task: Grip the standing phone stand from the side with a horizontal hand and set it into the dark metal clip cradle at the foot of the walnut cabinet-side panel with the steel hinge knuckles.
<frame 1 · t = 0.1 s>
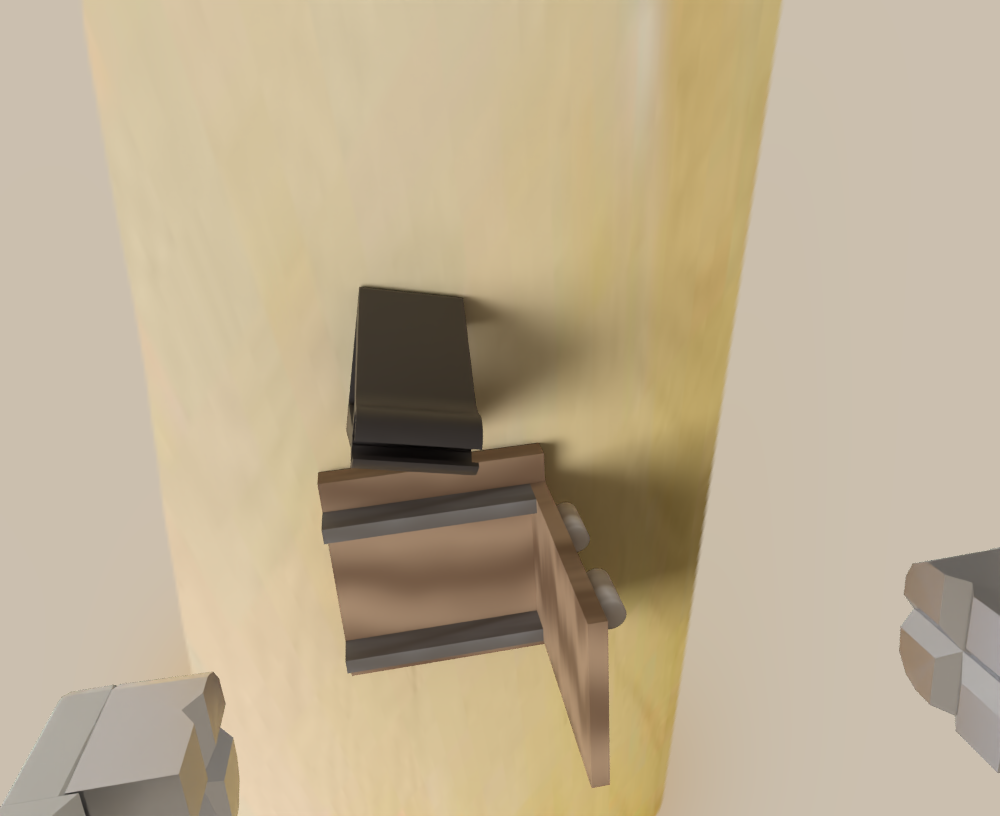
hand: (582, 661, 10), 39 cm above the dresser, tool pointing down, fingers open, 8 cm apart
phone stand: (402, 362, 49), on the dresser
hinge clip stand: (441, 556, 55), on the dresser
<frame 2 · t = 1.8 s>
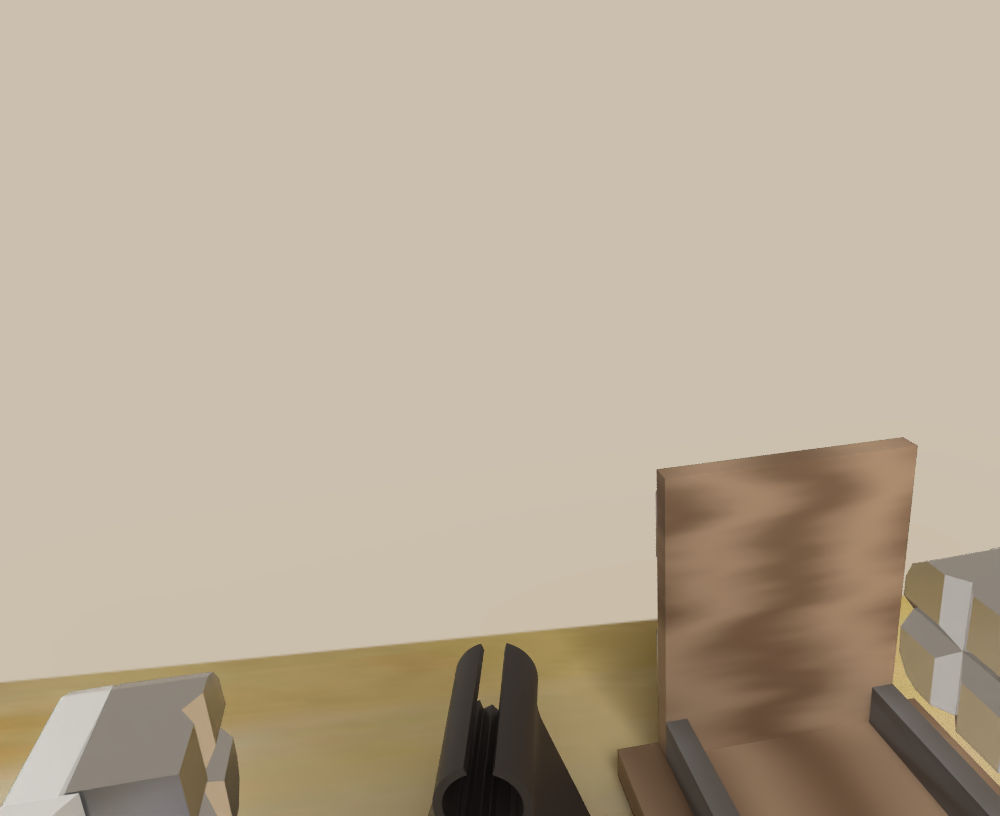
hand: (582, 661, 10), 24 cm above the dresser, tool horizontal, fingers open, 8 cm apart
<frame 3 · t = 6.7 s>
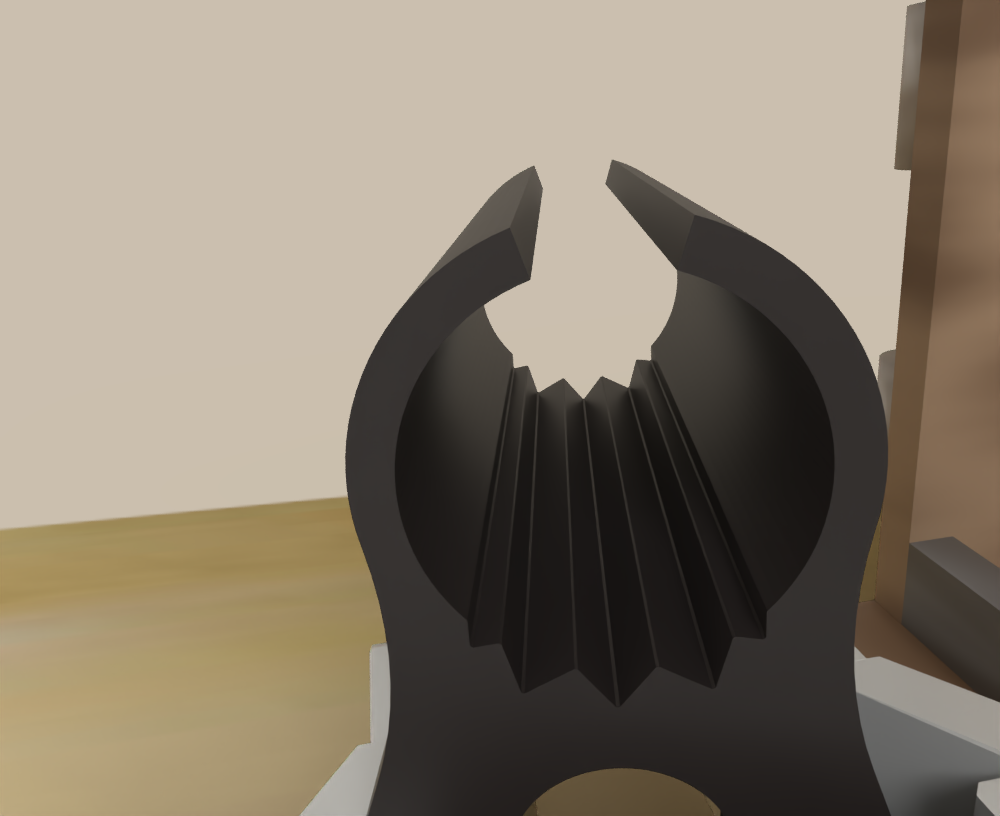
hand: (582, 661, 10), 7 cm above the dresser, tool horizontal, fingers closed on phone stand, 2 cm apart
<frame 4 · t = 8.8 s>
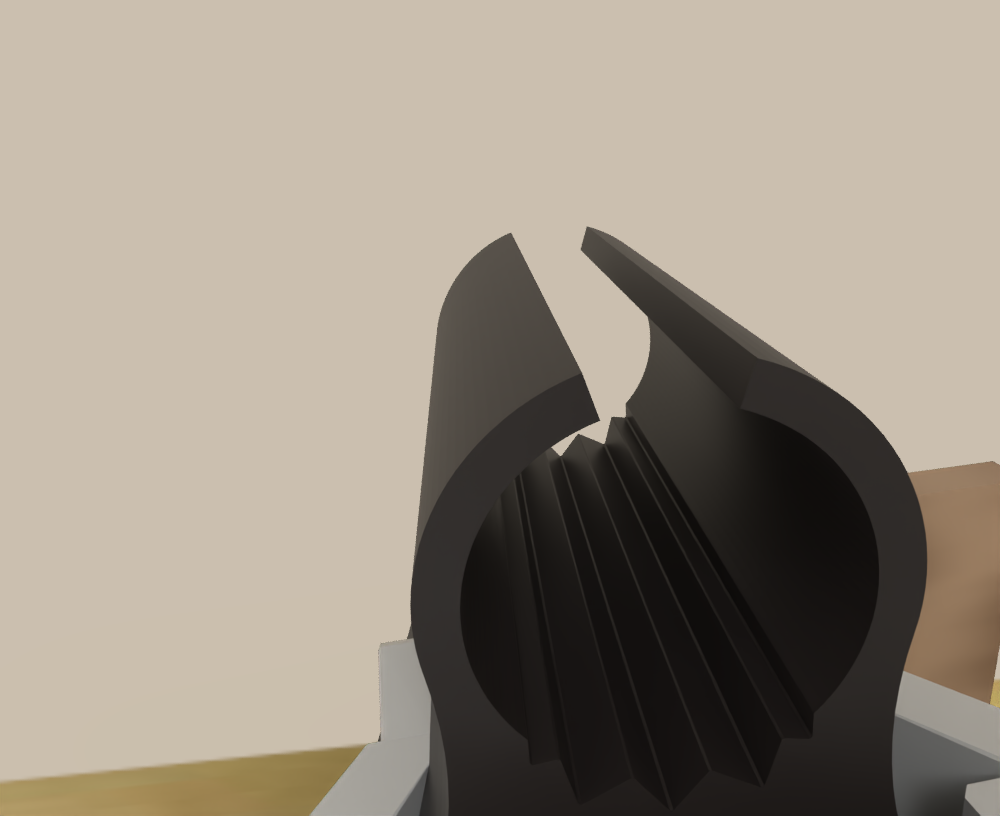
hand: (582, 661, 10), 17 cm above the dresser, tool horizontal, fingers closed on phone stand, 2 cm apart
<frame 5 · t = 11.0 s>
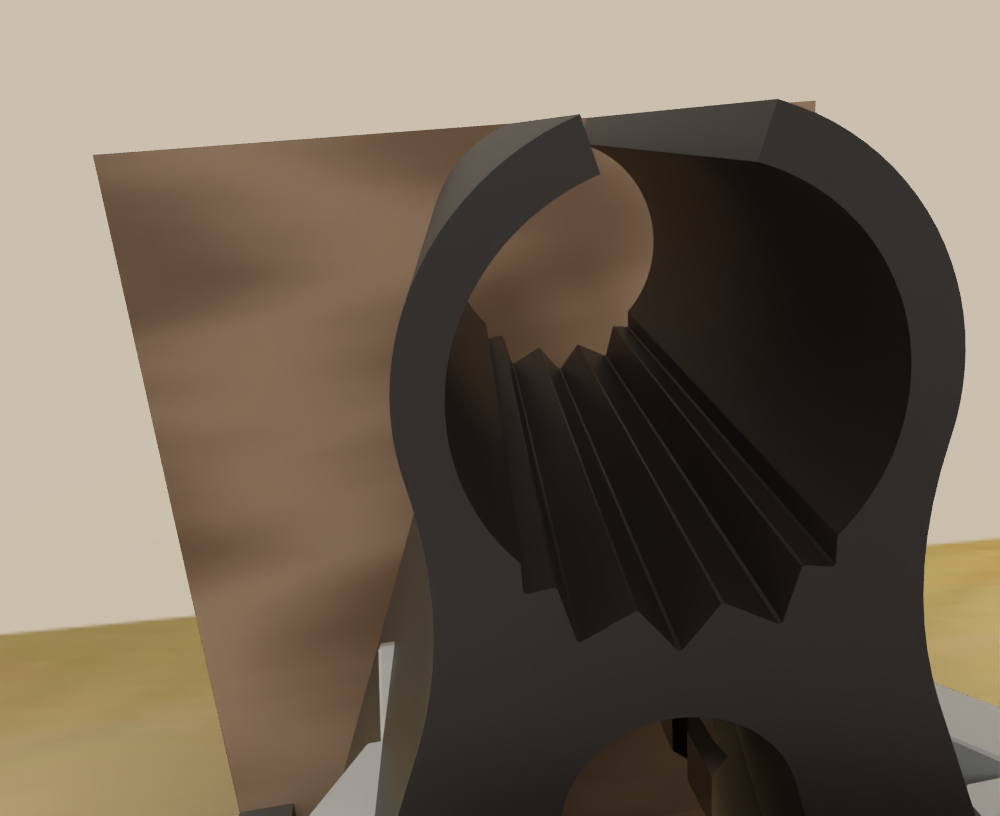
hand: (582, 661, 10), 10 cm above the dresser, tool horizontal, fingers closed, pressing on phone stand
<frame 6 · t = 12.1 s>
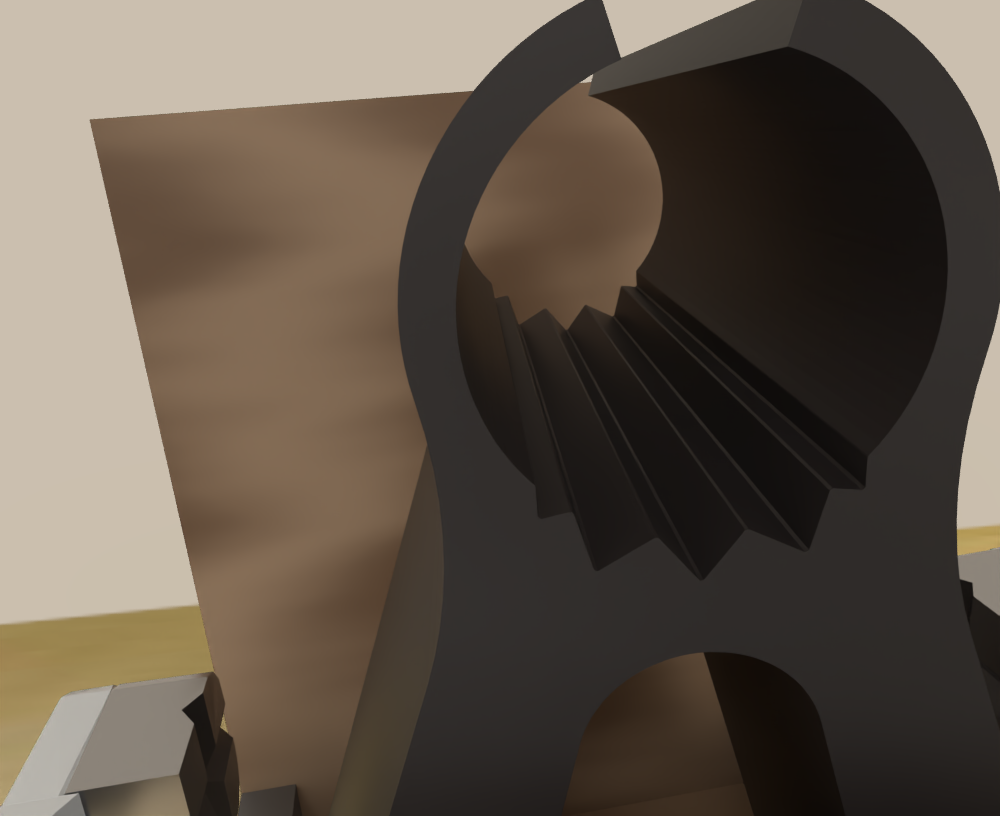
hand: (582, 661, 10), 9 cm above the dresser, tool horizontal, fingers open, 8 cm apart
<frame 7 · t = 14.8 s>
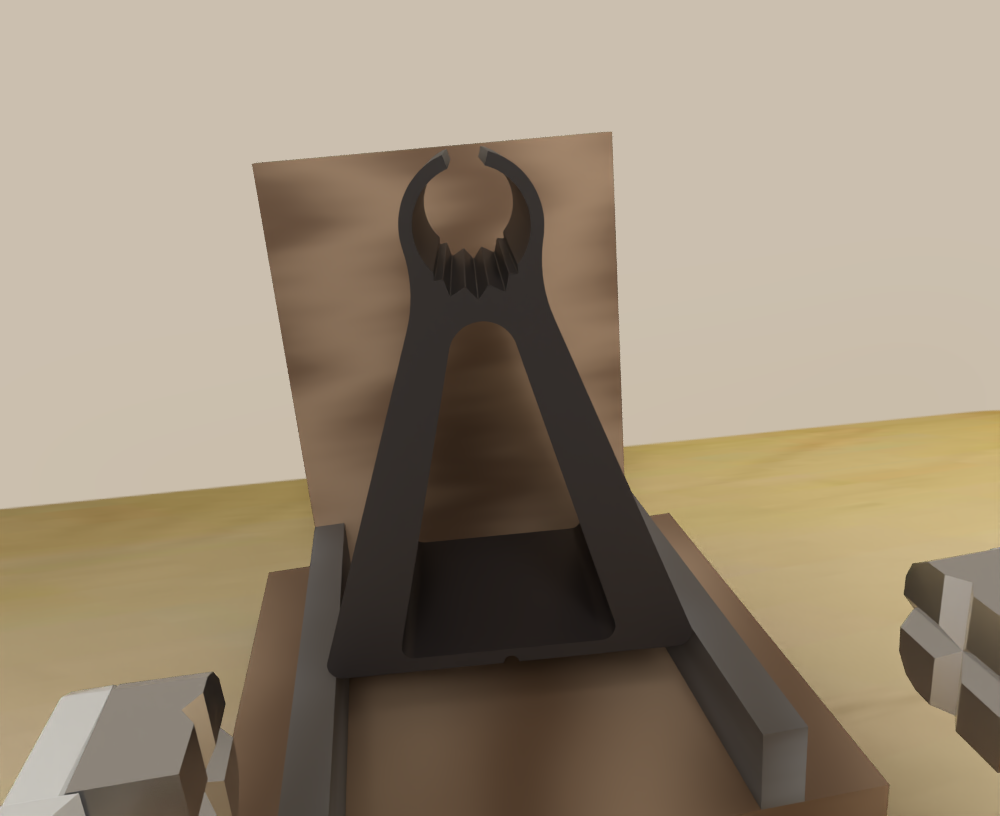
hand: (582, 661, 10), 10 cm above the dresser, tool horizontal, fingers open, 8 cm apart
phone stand: (505, 603, 23), point 3 cm above the dresser, touching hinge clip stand
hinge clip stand: (509, 696, 24), on the dresser
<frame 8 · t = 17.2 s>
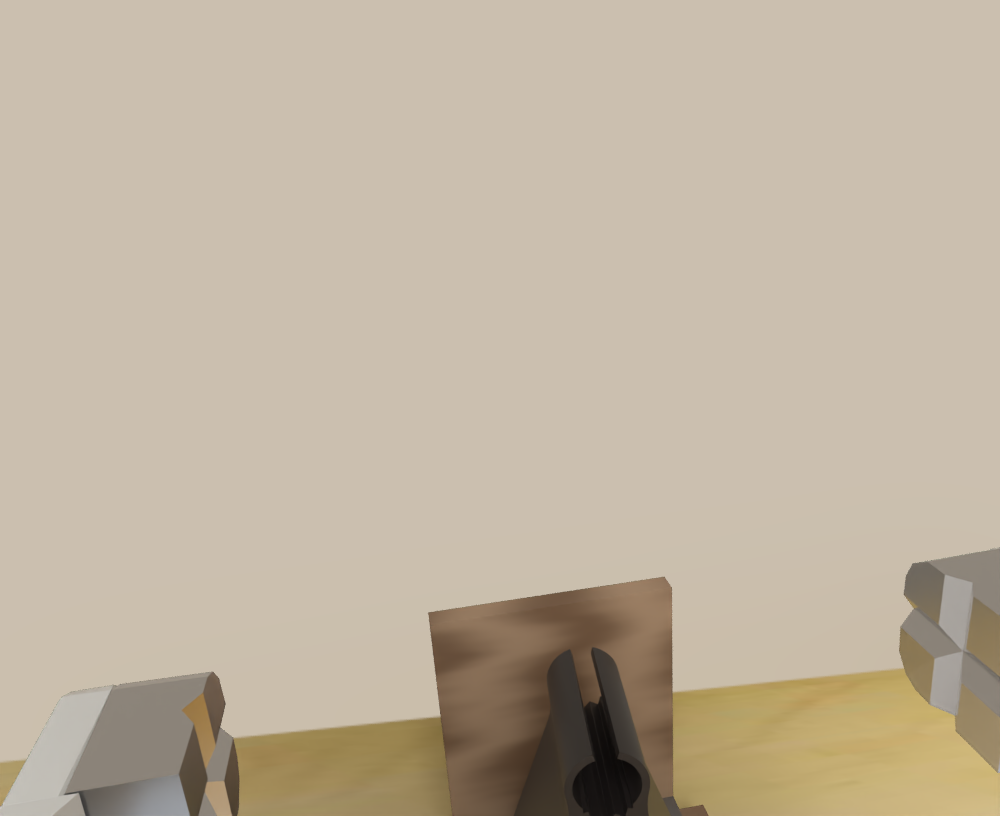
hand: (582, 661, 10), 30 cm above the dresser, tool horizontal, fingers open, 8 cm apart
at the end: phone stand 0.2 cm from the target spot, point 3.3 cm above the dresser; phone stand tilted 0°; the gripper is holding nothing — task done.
